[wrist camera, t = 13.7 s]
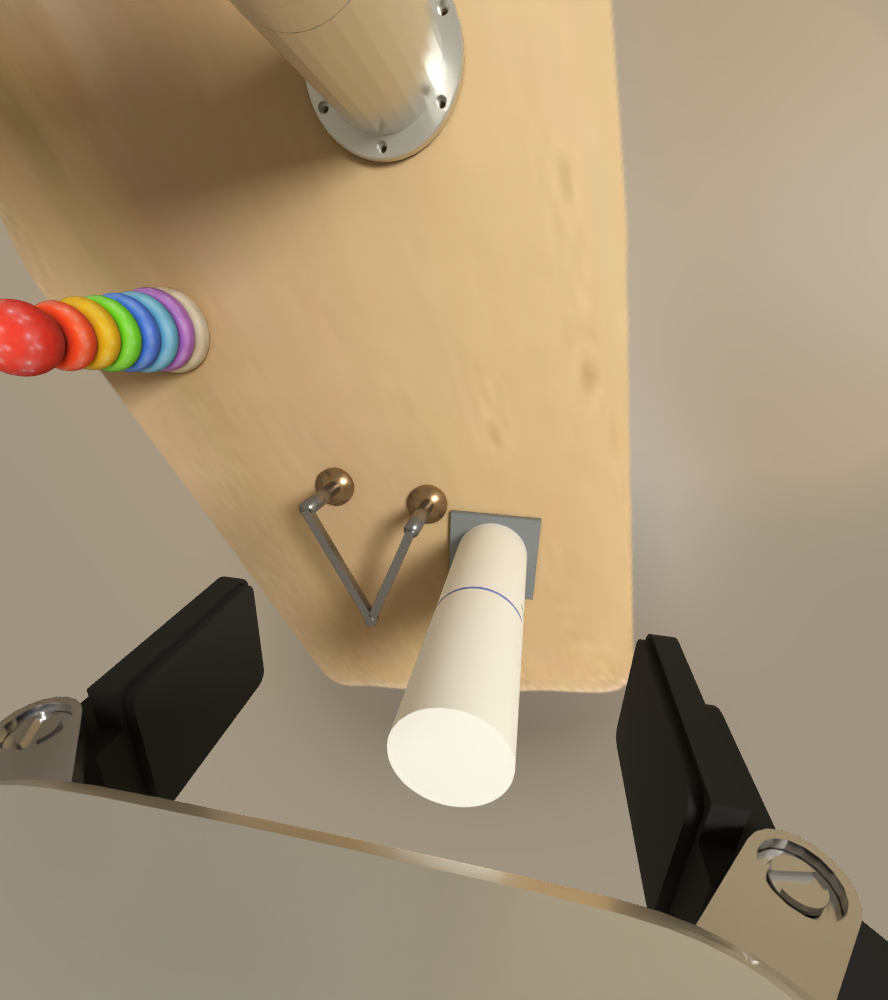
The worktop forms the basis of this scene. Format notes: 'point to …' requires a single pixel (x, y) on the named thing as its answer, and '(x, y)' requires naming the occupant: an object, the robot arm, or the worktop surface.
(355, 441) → the worktop surface
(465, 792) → the cylindrical container
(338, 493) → the metal linkage
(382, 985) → the robot arm
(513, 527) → the mat
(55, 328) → the stacking toy
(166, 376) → the worktop surface
